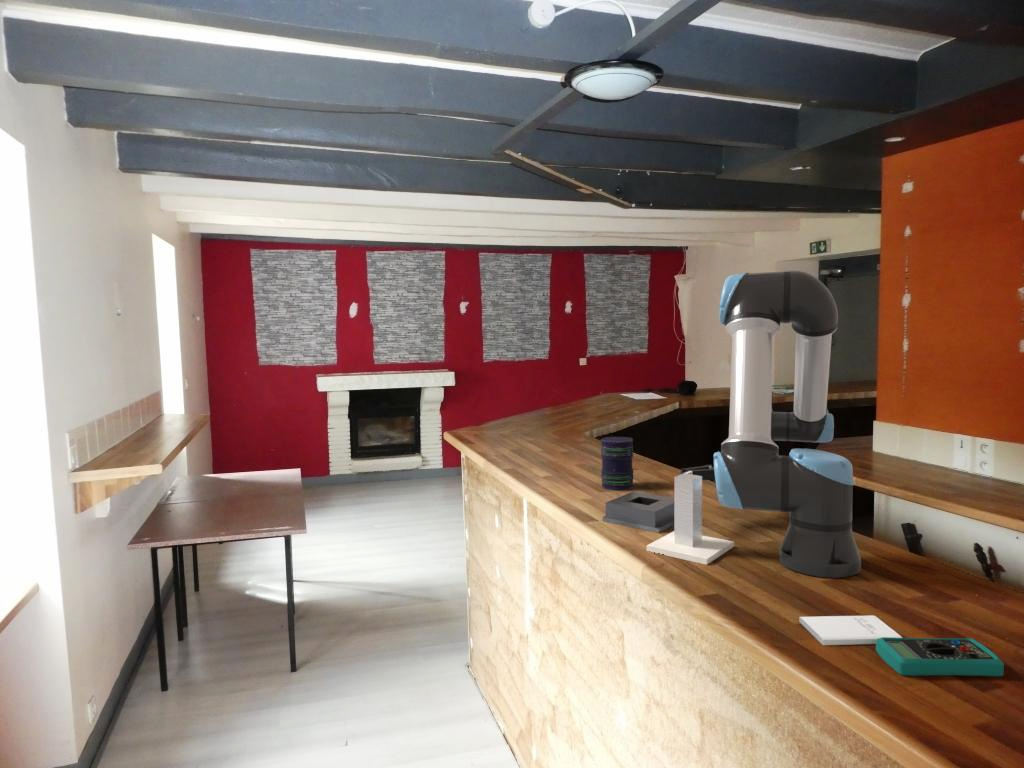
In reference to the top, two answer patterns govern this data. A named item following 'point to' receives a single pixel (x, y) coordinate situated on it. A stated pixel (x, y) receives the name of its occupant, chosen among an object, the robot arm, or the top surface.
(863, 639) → the external hard drive
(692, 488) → the aluminium plug
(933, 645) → the digital multimeter
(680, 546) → the cream pad
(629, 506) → the socket block
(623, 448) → the storage jar
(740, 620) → the top surface
